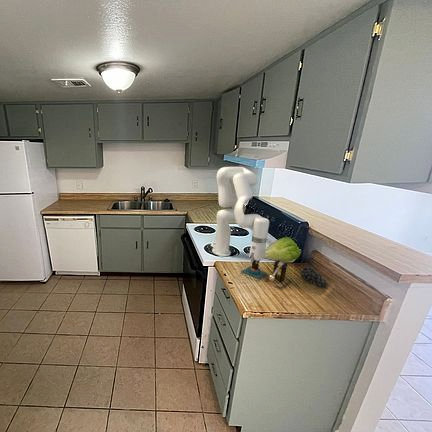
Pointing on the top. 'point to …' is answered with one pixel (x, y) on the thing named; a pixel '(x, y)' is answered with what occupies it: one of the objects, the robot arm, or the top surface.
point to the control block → (253, 272)
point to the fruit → (313, 276)
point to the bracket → (283, 271)
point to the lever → (279, 266)
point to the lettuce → (283, 250)
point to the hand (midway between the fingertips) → (254, 268)
